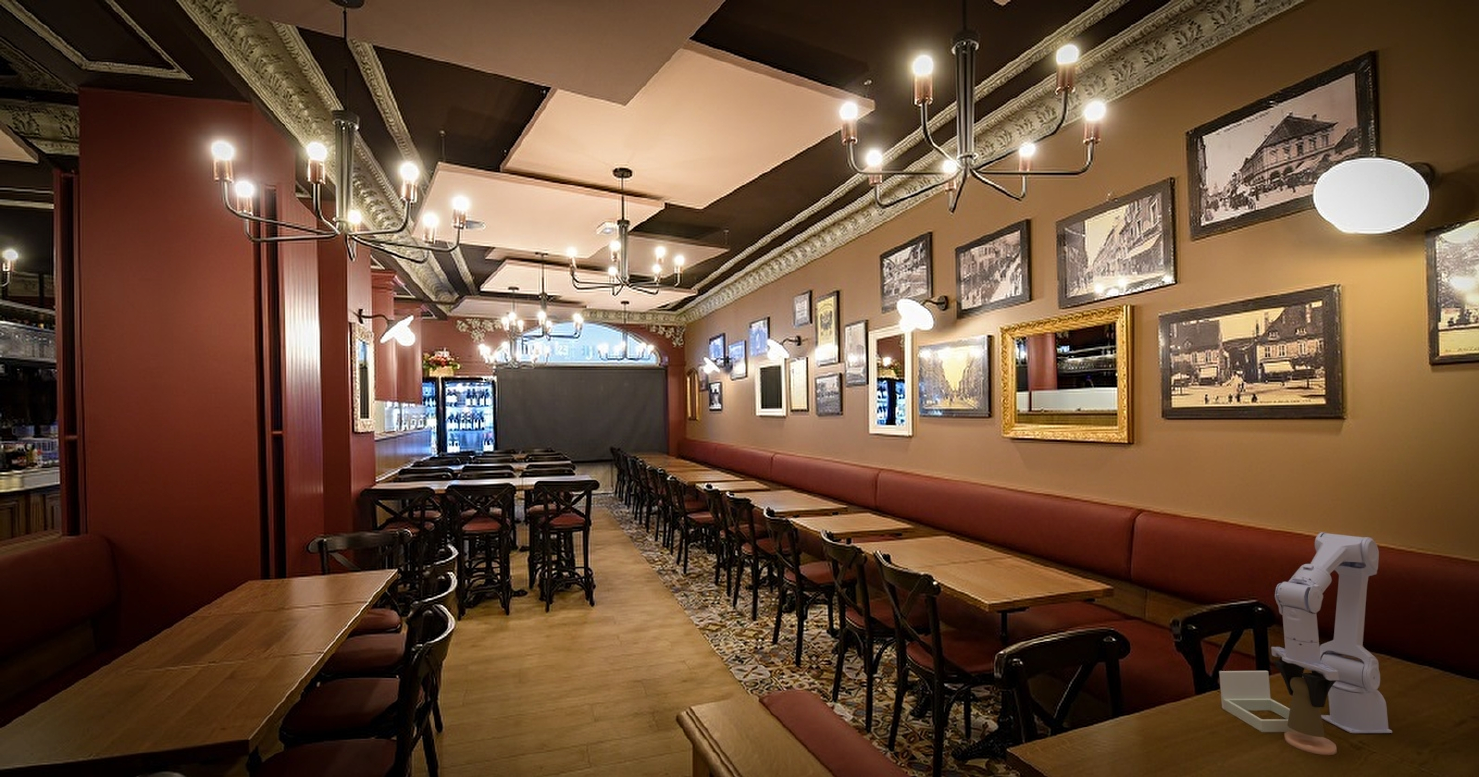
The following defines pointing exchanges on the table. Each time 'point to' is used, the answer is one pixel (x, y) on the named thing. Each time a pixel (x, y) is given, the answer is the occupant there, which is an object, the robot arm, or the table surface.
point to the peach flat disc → (1310, 743)
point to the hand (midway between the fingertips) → (1306, 700)
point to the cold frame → (1252, 699)
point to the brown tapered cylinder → (1304, 710)
